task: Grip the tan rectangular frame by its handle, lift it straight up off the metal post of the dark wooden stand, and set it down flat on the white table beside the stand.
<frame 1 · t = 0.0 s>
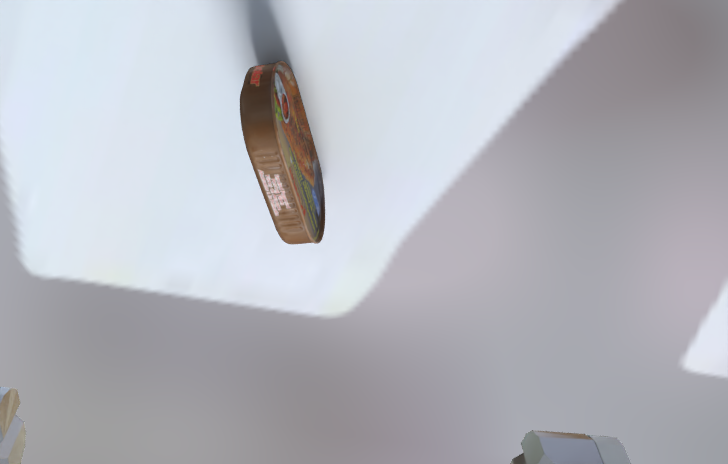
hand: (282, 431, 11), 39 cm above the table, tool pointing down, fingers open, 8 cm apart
tin: (290, 127, 53), on the table
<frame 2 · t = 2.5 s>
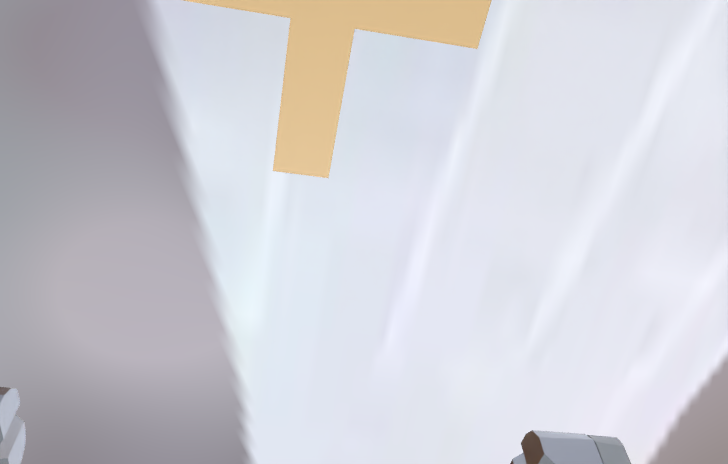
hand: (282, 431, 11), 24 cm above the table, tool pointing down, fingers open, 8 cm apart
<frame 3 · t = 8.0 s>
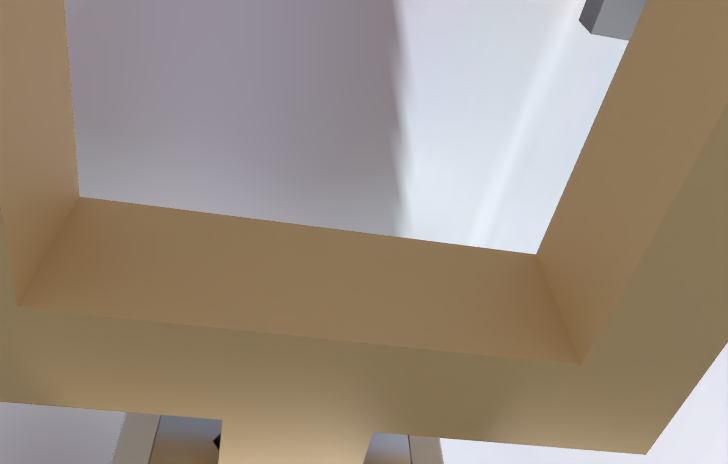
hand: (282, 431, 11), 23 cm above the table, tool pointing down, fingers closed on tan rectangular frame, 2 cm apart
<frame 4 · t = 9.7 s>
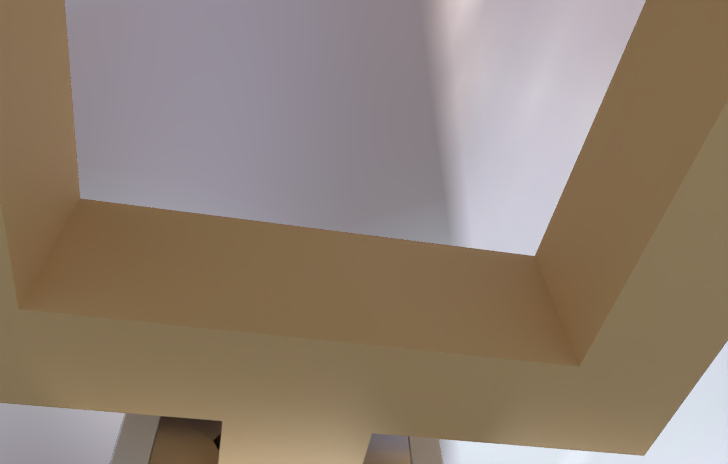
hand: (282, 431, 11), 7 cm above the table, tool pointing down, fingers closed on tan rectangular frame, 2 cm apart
tan rectangular frame: (360, 0, 7), point 7 cm above the table, touching gripper
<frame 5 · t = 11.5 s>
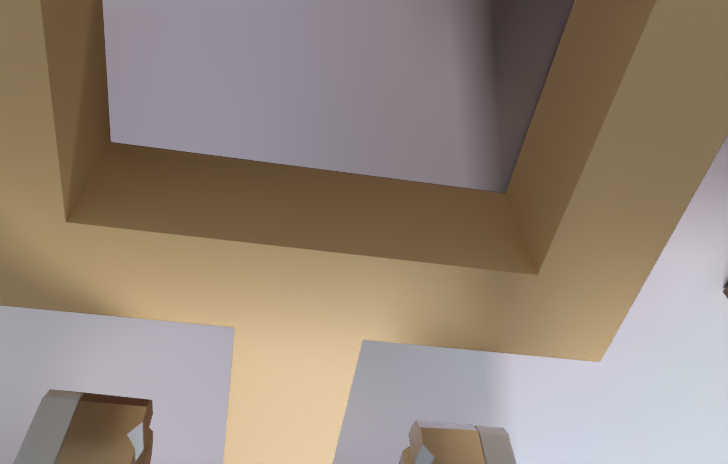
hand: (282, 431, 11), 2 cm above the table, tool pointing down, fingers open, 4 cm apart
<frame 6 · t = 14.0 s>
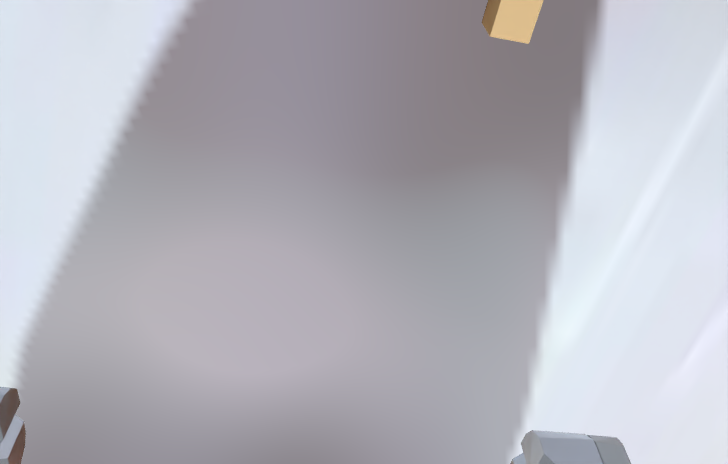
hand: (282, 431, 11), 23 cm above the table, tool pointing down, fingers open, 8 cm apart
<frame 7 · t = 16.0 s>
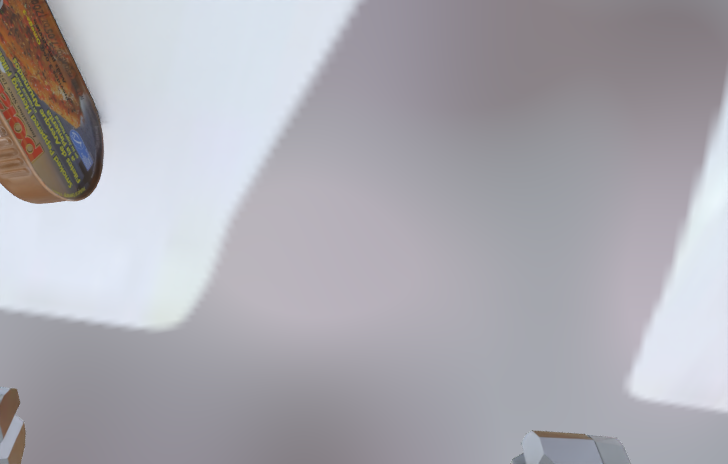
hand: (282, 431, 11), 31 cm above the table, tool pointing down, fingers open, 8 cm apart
tin: (42, 46, 38), on the table
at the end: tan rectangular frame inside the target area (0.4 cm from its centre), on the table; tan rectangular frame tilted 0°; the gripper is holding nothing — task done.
